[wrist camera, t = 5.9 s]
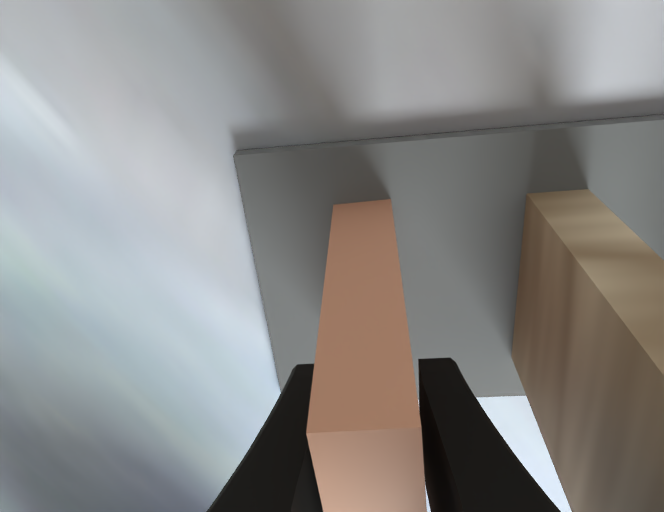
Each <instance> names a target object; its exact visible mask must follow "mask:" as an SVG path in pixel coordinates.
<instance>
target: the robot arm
mask: <svg viewBox="0 0 664 512" xmlns="http://www.w3.org/2000/svg"><path fill="white" fill-rule="evenodd" d="M418 368H419V412H420V420H421V429H422V445H423V461H424V475H425V484H426V489H427V494H428V499H429V504H430V509H431V512H561V511H560V510H559V509H558V508H557V507H556V506H555V504H554V503H553V502H552V501H551V500H550V498H549V497H548V496H547V495H546V494H545V492H544V491H543V490H542V489H541V487H540V486H539V485H538V484H537V482H536V481H535V480H534V479H533V477H532V476H531V475H530V474H529V472H528V471H527V470H526V469H525V467H524V466H523V465H522V463H521V462H520V461H519V459H518V458H517V457H516V455H515V454H514V453H513V451H512V450H511V449H510V447H509V446H508V444H507V443H506V442H505V440H504V439H503V437H502V436H501V435H500V433H499V432H498V430H497V429H496V428H495V426H494V425H493V423H492V422H491V420H490V419H489V417H488V416H487V414H486V413H485V411H484V410H483V408H482V407H481V405H480V404H479V402H478V400H477V399H476V397H475V396H474V394H473V392H472V391H471V389H470V387H469V386H468V384H467V382H466V380H465V379H464V377H463V375H462V373H461V371H460V369H459V367H458V365H457V363H456V362H455V361H454V360H453V359H452V358H427V359H418ZM313 371H314V364H297V365H296V366H295V367H294V368H293V369H292V371H291V374H290V376H289V378H288V380H287V382H286V384H285V386H284V388H283V390H282V392H281V394H280V396H279V398H278V400H277V402H276V404H275V406H274V407H273V409H272V411H271V413H270V415H269V416H268V418H267V420H266V422H265V423H264V425H263V427H262V428H261V430H260V432H259V433H258V435H257V437H256V438H255V440H254V442H253V443H252V445H251V447H250V448H249V450H248V452H247V453H246V455H245V456H244V458H243V460H242V461H241V463H240V464H239V466H238V467H237V469H236V470H235V472H234V473H233V474H232V476H231V477H230V479H229V480H228V482H227V483H226V485H225V486H224V488H223V489H222V491H221V492H220V494H219V495H218V497H217V498H216V499H215V501H214V502H213V504H212V505H211V506H210V508H209V509H208V510H207V512H323V508H322V503H321V499H320V494H319V490H318V485H317V480H316V476H315V471H314V467H313V462H312V458H311V453H310V449H309V444H308V439H307V435H306V430H307V422H308V413H309V405H310V397H311V388H312V380H313Z"/></svg>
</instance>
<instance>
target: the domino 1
mask: <svg viewBox="0 0 664 512" xmlns="http://www.w3.org/2000/svg"><path fill="white" fill-rule="evenodd" d="M306 435H307V439H308V444H309V449H310V453H311V458H312V462H313V467H314V471H315V476H316V480H317V485H318V490H319V494H320V499H321V503H322V508H323V512H427V509H426V493H425V477H424V461H423V445H422V429H421V420H420V413H419V405H418V398H417V390H416V383H415V375H414V368H413V361H412V353H411V346H410V338H409V331H408V323H407V316H406V308H405V301H404V293H403V286H402V278H401V271H400V263H399V256H398V248H397V241H396V233H395V226H394V218H393V211H392V203H391V199H386V200H376V201H366V202H356V203H346V204H336V205H333V212H332V220H331V228H330V237H329V245H328V254H327V262H326V271H325V279H324V287H323V296H322V304H321V313H320V321H319V329H318V338H317V346H316V355H315V363H314V371H313V380H312V388H311V397H310V405H309V413H308V422H307V430H306Z"/></svg>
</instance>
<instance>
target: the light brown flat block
mask: <svg viewBox="0 0 664 512" xmlns="http://www.w3.org/2000/svg"><path fill="white" fill-rule="evenodd" d="M511 358H512V360H513V363H514V365H515V368H516V370H517V373H518V375H519V378H520V381H521V383H522V386H523V388H524V391H525V393H526V396H527V398H528V401H529V403H530V406H531V409H532V411H533V414H534V416H535V419H536V421H537V424H538V426H539V429H540V431H541V434H542V437H543V439H544V442H545V444H546V447H547V449H548V452H549V454H550V457H551V459H552V462H553V465H554V467H555V470H556V472H557V475H558V477H559V480H560V482H561V485H562V488H563V490H564V493H565V495H566V498H567V500H568V503H569V505H570V508H571V510H572V512H664V260H663V259H662V258H661V257H659V256H658V255H657V254H656V253H655V252H654V251H653V250H652V249H651V248H650V247H649V246H648V245H647V244H646V243H645V242H644V241H643V240H642V239H640V238H639V237H638V236H637V235H636V234H635V233H634V232H633V231H632V230H631V229H630V228H629V227H628V226H627V225H626V224H625V223H624V222H623V221H621V220H620V219H619V218H618V217H617V216H616V215H615V214H614V213H613V212H612V211H611V210H610V209H609V208H608V207H607V206H606V205H605V204H604V203H602V202H601V201H600V200H599V199H598V198H597V197H596V196H595V195H594V194H593V193H592V192H591V191H590V190H589V189H583V190H569V191H555V192H542V193H528V194H527V195H526V205H525V216H524V227H523V238H522V248H521V259H520V270H519V281H518V291H517V302H516V313H515V324H514V334H513V345H512V356H511Z"/></svg>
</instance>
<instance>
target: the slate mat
mask: <svg viewBox="0 0 664 512" xmlns="http://www.w3.org/2000/svg"><path fill="white" fill-rule="evenodd" d="M233 157H234V162H235V167H236V172H237V177H238V182H239V187H240V192H241V197H242V202H243V207H244V212H245V217H246V222H247V227H248V231H249V236H250V241H251V246H252V251H253V256H254V261H255V266H256V271H257V276H258V281H259V286H260V291H261V296H262V301H263V306H264V311H265V316H266V321H267V326H268V330H269V335H270V340H271V345H272V350H273V355H274V360H275V365H276V370H277V375H278V380H279V385H280V390H281V392H282V390H283V388H284V386H285V384H286V382H287V380H288V378H289V376H290V374H291V371H292V369H293V368H294V367H295V366H296V365H297V364H314V363H315V355H316V346H317V338H318V329H319V321H320V313H321V304H322V296H323V287H324V279H325V271H326V262H327V254H328V245H329V237H330V228H331V220H332V212H333V205H336V204H346V203H356V202H366V201H376V200H386V199H391V203H392V211H393V218H394V226H395V233H396V241H397V248H398V256H399V263H400V271H401V278H402V286H403V293H404V301H405V308H406V316H407V323H408V331H409V338H410V346H411V353H412V361H413V368H414V375H415V383H416V390H417V398H418V399H419V368H418V359H427V358H452V359H453V360H454V361H455V362H456V363H457V365H458V367H459V369H460V371H461V373H462V375H463V377H464V379H465V380H466V382H467V384H468V386H469V387H470V389H471V391H472V392H473V394H474V396H475V397H497V396H525V395H526V393H525V391H524V388H523V386H522V383H521V381H520V378H519V375H518V373H517V370H516V368H515V365H514V363H513V360H512V358H511V356H512V345H513V334H514V324H515V313H516V302H517V291H518V281H519V270H520V259H521V248H522V238H523V227H524V216H525V205H526V195H527V194H528V193H542V192H555V191H569V190H583V189H589V190H590V191H591V192H592V193H593V194H594V195H595V196H596V197H597V198H598V199H599V200H600V201H601V202H602V203H604V204H605V205H606V206H607V207H608V208H609V209H610V210H611V211H612V212H613V213H614V214H615V215H616V216H617V217H618V218H619V219H620V220H621V221H623V222H624V223H625V224H626V225H627V226H628V227H629V228H630V229H631V230H632V231H633V232H634V233H635V234H636V235H637V236H638V237H639V238H640V239H642V240H643V241H644V242H645V243H646V244H647V245H648V246H649V247H650V248H651V249H652V250H653V251H654V252H655V253H656V254H657V255H658V256H659V257H661V258H662V259H663V260H664V114H662V115H650V116H638V117H627V118H615V119H603V120H591V121H579V122H568V123H556V124H544V125H532V126H520V127H509V128H497V129H485V130H473V131H461V132H450V133H438V134H426V135H414V136H402V137H391V138H379V139H367V140H355V141H343V142H331V143H320V144H308V145H296V146H284V147H272V148H261V149H249V150H237V151H236V152H235V154H234V155H233Z"/></svg>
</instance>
